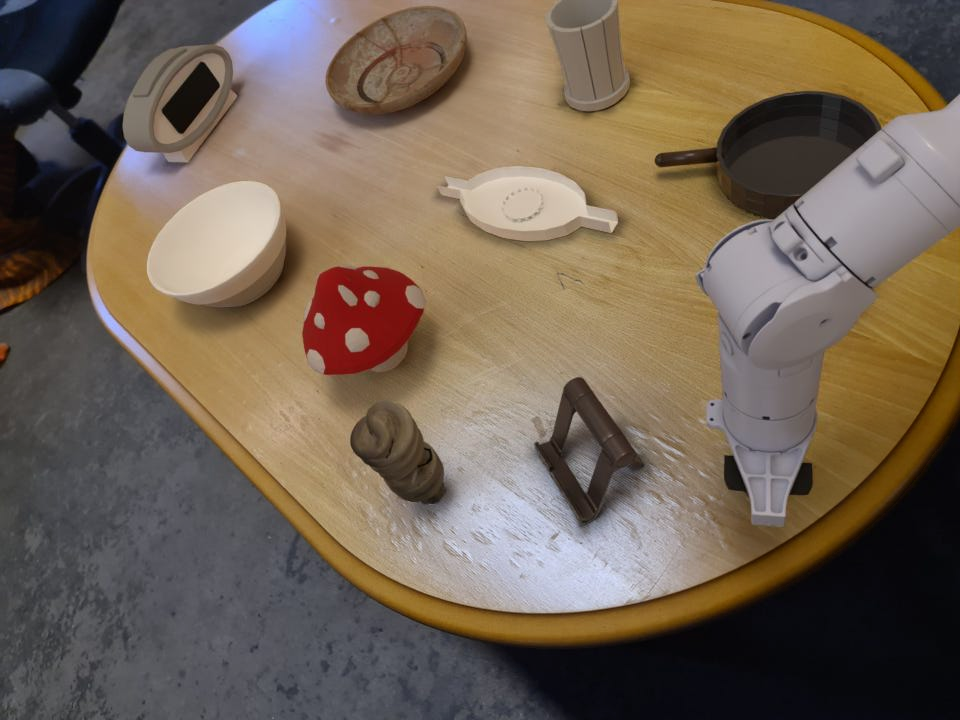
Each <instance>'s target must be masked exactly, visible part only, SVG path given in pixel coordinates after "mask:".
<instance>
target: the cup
mask: <svg viewBox="0 0 960 720" xmlns="http://www.w3.org/2000/svg"><path fill="white" fill-rule="evenodd" d="M619 10H620V8H619V0H556V1H555V2H554V3H553V4H552V5H551V7H549V9H548V11H547V13H546V16H545V21H546V25H547V28H548V31H549V34H550V38H551V41H552V43H553V46H554V49H555V52H556V56H557V58H558V62H559V66H560V69H561V73H562V76H563V81H564V84H563V93H564V98H565V101H566V103H567V104H568V105H569V106H570V108H573V109H575V110H577V111H582V112H598V111H601V110H604V109H607V108H609V107H612V106H613V105H615V104H617V103H618V102H619V101H621V99H623V97H625V96H626V94H627V92H628V91H629V89H630V85H631V77H630V73H629V70H628V68H627V67H626V66H625V60H624V54H623V53H624V52H623V46H622V36H621V24H620V11H619Z"/></svg>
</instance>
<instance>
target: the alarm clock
mask: <svg viewBox="0 0 960 720" xmlns="http://www.w3.org/2000/svg"><path fill="white" fill-rule="evenodd" d="M233 65H234V64H233V60H232V59H231V56H230V53H229V52H228V51H227V50H226V49H225V48H224V47H223V46H221V45H217V44H215V43H213V44H211V43H210V44H197V45H185V46H178V47H175V48H174V47H173V48H168V49H167V50H165V51H163V52H161V53H160V54H159V55H158V56H156V57H155V58H154V59H153V60H152V61H151V62H149V63H148V65H147V66H146V67H145V69H144V70H143V72H142V73H141V75H140V76H139V78H138V80H137V81H136V83H135V85H134V87H133V88H132V91H131V92H130V94H129V97H128V99H127V102H126V105H125V108H124V111H123V117H122V118H123V119H122V131H123V138H124V140H125V141H126V143H127V145H128V147H130V148H132V149H133V150H134V151H135V152H139V153H140V152H141V153H154V154H155V153H157V154H158V153H159V154H163V156H164V158H165V159H166V160H167V162H168V163H190V160H191V159H192V158H193V157H194V155H195V153H197V152H198V150H199V148H200V147H201V146H202V144H203V143H205V140H206V139H207V138H208V137H209V135H210V134H211V133H212V131H213V130H214V129H215V127H216V126H217V125H218V123H219V122H220V120H221V119H223V117H224V115H225V114H226V113H227V111H228V110H229V109H230V108H231V106H232V105H233V103H234V102H235V101H236V100H237V98H238V94H236V93H235V92H234V91H233V90H232V89H231V88H232V84H233V77H234V67H233Z"/></svg>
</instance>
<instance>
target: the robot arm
mask: <svg viewBox="0 0 960 720" xmlns="http://www.w3.org/2000/svg"><path fill="white" fill-rule="evenodd" d="M881 129H882V130H880V131H878V132H877V133H876V134H875V135H874V136H873V137H871V138H870V139H869V140H868V141H867V142H865V143H864V145H862V146H861V147H860V148H858V149H857V150H856V151H855V152H854V153H853V154H851V155H850V156H849V157H848V158H847V159H845V160H844V161H843V162H842V163H841V164H840V165H838V166H837V167H836V168H835V169H834V170H832V171H831V172H830V173H829V174H828V175H827V176H825V177H824V178H823V179H822V180H821V181H819V182H818V183H817V184H816V185H815V186H814V187H812V188H811V189H810V190H809V191H808V192H806V193H805V194H804V195H803V196H802V197H801V198H799V199H798V200H797V201H796V202H795V203H794V204H792V205H791V206H790V207H789V208H788V209H786V210H785V211H784V212H783V213H782V214H780V215H779V216H778V217H777V218H776V219H771V218H766V219H756V220H753V221H749V222H747V223H745V224H741V225H740V226H738V227H736V228H734V229H732V230H731V231H730V232H728V233H726V235H724V236H723V237H722V238H721V239H719V240H718V242H717V243H716V244H715V245H714V246H713V247H712V249H711V250H710V252H709V254H708V255H707V257H706V261H705V266H703V268H702V269H701V270H699V271H698V272H696V274H695V281H696V283H697V285H698V287H699V289H700V290H701V291H702V292H703V293H704V295H706V297H709V299H710V301H711V302H712V304H713V305H714V307H715V309H716V310H717V325H718V352H719V366H720V367H719V368H720V382H721V395H722V398H712V399H709V400H708V401H707V403H706V406H705V407H706V408H705V410H706V411H705V422H706V423H705V424H706V426H707V427H708V428H709V429H712V430H719V431H721V432H723V434H724V437H725V439H726V440H727V443H728V446H729V448H730V452H731V453H732V455H730V454H724V455H723V456H724V457H723V461H724V462H723V480H724V483H725V486H726V488H727V489H728V490H729V491H734V492H743V493H744V494H746V496H747V497H748V498H749V502H750V515H751V517H750V519H751V522H750V523H751V525H756V526H762V527H763V526H764V527H765V526H766V527H776V528H777V527H779V528H784V527H785V526H786V517H787V503H788V500H789V497H790V496H809V494H810V493H811V491H812V488H813V485H814V471H813V470H814V469H813V462H804V460H805V458H806V456H807V453H808V451H809V448H810V445H811V443H812V441H813V438H814V437H815V432H816V430H817V426H818V418H819V416H818V415H819V414H818V409H817V405H818V397H819V392H820V383H821V378H822V372H823V366H824V358H825V351H827V350H828V349H830V348H832V347H834V346H835V345H837V344H838V343H839V342H840V341H842V340H843V339H844V338H845V337H846V336H847V335H848V334H849V332H851V330H852V329H853V328H854V326H855V325H856V323H857V321H858V320H859V318H860V317H861V315H862V314H863V313H864V312H865V311H866V310H867V309H868V308H869V307H871V306H873V305H874V301H875V300H877V299H879V295H878V294H877V292H876V290H875V289H874V288H876V287H878V286H879V285H880V284H882V283H883V282H885V281H886V280H887V279H889V278H890V277H891V276H893V275H894V274H896V273H897V272H899V271H900V270H902V269H903V268H904V267H905V266H907V265H908V264H910V263H911V262H912V261H914V260H915V259H917V258H918V257H919V256H921V255H922V254H923V253H925V252H926V251H928V250H929V249H931V248H932V247H933V246H935V245H936V244H938V243H940V241H941V240H943V239H945V238H946V237H948V236H949V235H950V234H951V233H953V232H954V231H956V230H957V229H958V228H960V93H958V94H957V96H955V98H953V99H952V100H951V101H950V102H949V103H948V104H947V105H946V106H944V107H943V108H941V109H937V110H932V111H926V112H925V111H924V112H915V113H906V114H901V115H898V116H897V115H896V116H895V117H894V118H892V120H890V121H889V122H888V123H886V124H885V125H884V126H883V127H881Z"/></svg>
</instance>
